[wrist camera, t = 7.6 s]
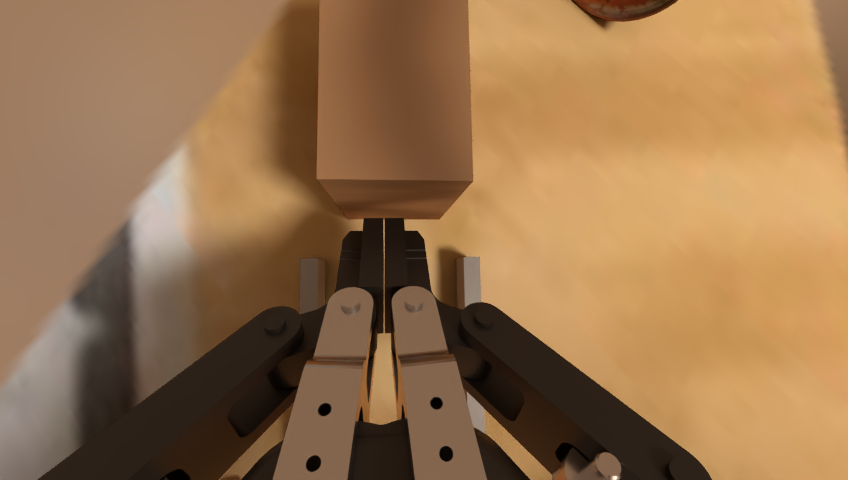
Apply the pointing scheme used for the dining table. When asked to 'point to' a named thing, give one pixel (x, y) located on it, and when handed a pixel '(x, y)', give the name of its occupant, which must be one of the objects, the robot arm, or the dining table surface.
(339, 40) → the block
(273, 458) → the robot arm
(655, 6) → the tin
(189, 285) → the dining table surface
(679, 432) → the dining table surface
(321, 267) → the channel
